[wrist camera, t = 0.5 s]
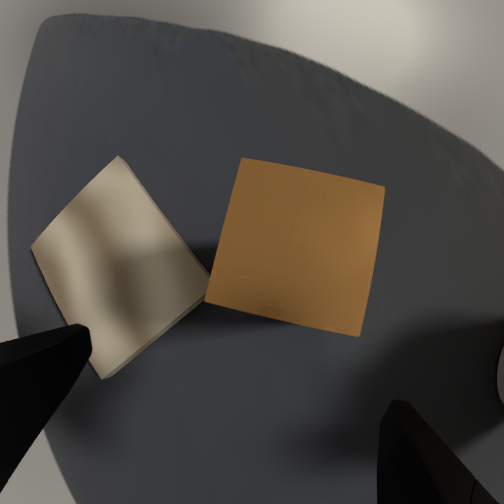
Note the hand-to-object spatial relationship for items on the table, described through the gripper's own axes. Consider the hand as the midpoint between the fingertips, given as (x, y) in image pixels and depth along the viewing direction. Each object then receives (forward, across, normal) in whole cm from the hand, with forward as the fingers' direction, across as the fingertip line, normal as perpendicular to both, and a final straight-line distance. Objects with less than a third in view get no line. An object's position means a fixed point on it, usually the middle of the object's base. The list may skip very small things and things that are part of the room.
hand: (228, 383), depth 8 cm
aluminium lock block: (+15, -1, +3) cm, 15 cm away
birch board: (+14, +13, +5) cm, 20 cm away
